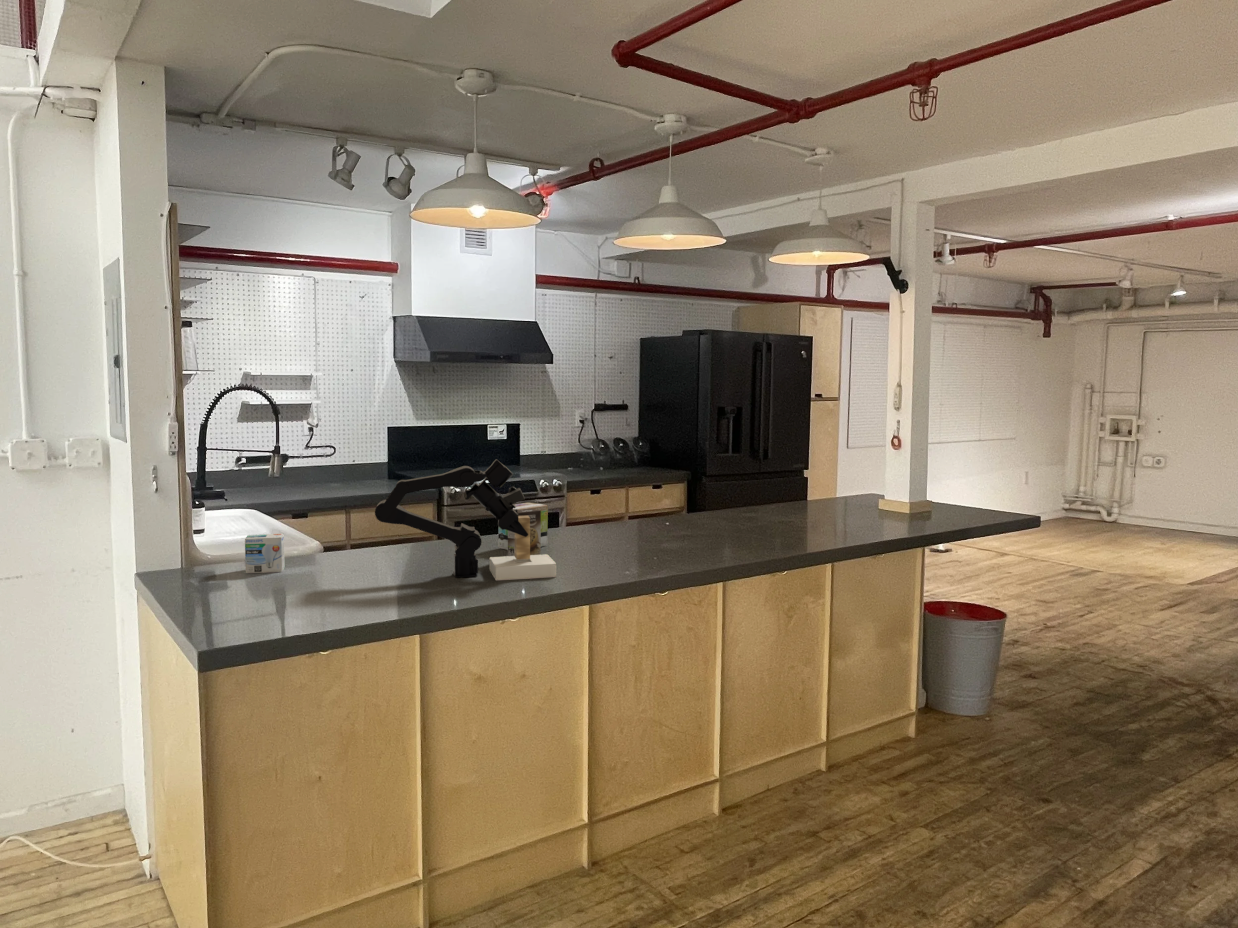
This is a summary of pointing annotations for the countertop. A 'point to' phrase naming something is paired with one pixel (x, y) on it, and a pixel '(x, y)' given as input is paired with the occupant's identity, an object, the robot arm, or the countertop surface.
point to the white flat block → (522, 567)
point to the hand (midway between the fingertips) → (526, 534)
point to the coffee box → (534, 532)
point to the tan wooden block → (523, 540)
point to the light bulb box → (264, 553)
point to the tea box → (544, 524)
